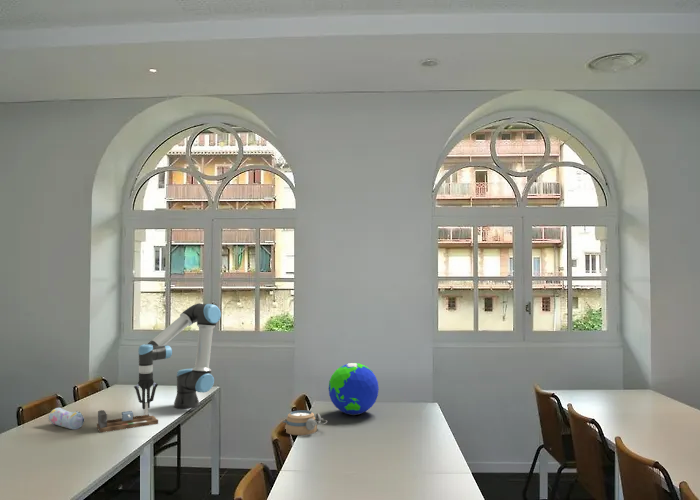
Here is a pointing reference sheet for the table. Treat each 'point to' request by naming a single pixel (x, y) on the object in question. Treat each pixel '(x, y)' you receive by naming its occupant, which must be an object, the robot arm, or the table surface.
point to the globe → (353, 388)
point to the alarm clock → (302, 422)
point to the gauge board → (123, 422)
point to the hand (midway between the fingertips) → (146, 414)
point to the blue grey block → (127, 415)
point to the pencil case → (66, 418)
